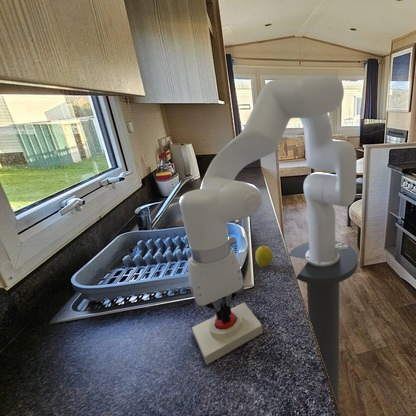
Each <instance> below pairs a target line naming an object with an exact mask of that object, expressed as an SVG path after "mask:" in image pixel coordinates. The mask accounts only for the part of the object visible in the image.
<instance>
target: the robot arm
mask: <svg viewBox="0 0 416 416" xmlns="http://www.w3.org/2000/svg"><path fill="white" fill-rule="evenodd" d="M344 93H345V91H344V86H343V83H342V80H341V79H340V78H339V77H338V76H337V75H335V74H322V75H310V76H309V75H308V76H307V75H306V76H298V77H288V78H276V79H272V80H269V81H268V82H266V83H265V84H264V85H263V87H262V88H261V91H260V92H259V95H258V96H257V98H256V100H255V103H254V105H253V107H252V110H251V111H250V114H249V116H248V118H247V120H246V122H245V125H244V127H243V129H242V130H241V132H240V133H239V134H238V135H237V136H235V137H234V138H233V139H231V141H230V142H228V143H227V144H226V145H225V146H224V147H223V148H222V149H221V150H220V151H219V152H218V153H217V154H216V155H215V156H214V158H213V159H212V160H211V162H210V164H209V166H208V168H207V170H206V171H205V172H206V173H205V174H204V176H203V178H202V180H201V183H200V187H199V188H198V189H193V190H190V191H187V192H184V193H183V194H182V195H181V196H180V198H179V209H180V212H181V217H182V221H183V226H184V230H185V234H186V239H187V243H188V248H189V252H190V256H189V258H188V259H187V275H188V283H189V287H190V292H191V295H192V297H193V306H194V309H195V310H196V311H199V310H202V309H205V308H206V309H207V308H208V309H210V310H214V313H215V315H216V317H217V319H218V321H219V320H221V321H222V323H223V324H225V323H226V321H227V322H229V321H230V315H231V309H232V307H231V305H232V304H233V302H232V301H233V300H234V299H235V297H236V296H237V295H238V294H239V293H241V292H242V291H243V290H245V286H244V277H243V274H242V270H241V266H240V263H239V260H238V257H237V253H236V252H235V249H234V248H233V246H232V245H234V244H235V243H237V238H236V237H235V236H232V237H231V236H229V231H228V223H229V222H234V221H240V220H243V219H247V218H249V217H251V216H253V215H255V214H256V213H257V212H258V211H259V210H260V208H261V207H262V203H263V195H262V193H261V191H260V189H258V187H257V186H255V185H254V184H251V183H249V182H246V181H245V182H244V181H239V180H235V179H236V177H237V176H238V174H239V173H240V172H241V171H242V170H243V169H244V168H245V167H247V166H248V165H249V164H251V163H254V162H256V161H258V160H260V159H263V158H265V157H268V156H269V155H271V154H273V153H275V152H276V151H277V150H278V148H279V146H280V144H281V141H282V139H283V136H284V133H285V132H286V129H287V126H288V125H289V122H290V120H291V119H299V120H300V121H301V124H302V129H303V137H304V152H305V153H304V154H305V160H306V164H307V166H308V167H309V168H311V169H313V170H317V171H323V172H313V173H309V174H308V175H307V176H306V178H304V181H303V187H302V188H303V195H304V198H305V202H306V208H307V209H306V210H307V229H308V231H307V232H308V242H309V250H308V251H307V252H306V254H305V259H304V260H307V262H308V263H309V264H311V265H314V266H319V267H325V266H330V265H333V264H335V263H336V262H337V261H338V260H339V258H340V254H339V253H340V251H346V250H348V246H349V245H348V246H347V244H346V245H344V246H342V244H341V243H342V242H340V244H335V241H336V211H335V208H334V206H338V207H349V206H350V205H352V204H353V203H354V201H355V199H356V195H357V151H356V148H355V146H354V145H353V143H352V142H350V141H348V140H343V139H341V140H340V139H334V138H333V127H332V120H331V118H330V115H329V113H332V112H335V111H336V110H337V109H339V108H340V106H341V105H342V103H343V100H344ZM326 172H329V173H326ZM333 173H335V174H333ZM220 299H221V300H220ZM219 300H220V301H219Z"/></svg>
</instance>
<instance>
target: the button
mask: <svg viewBox="0 0 416 416" xmlns="http://www.w3.org/2000/svg"><path fill="white" fill-rule="evenodd" d="M215 323H216V328H217V329H220V330H223V329H228V328H230V327H232V326H233V325H234V324H235V323H236V317H235V314H234V313H233V312H231V315H230V321H229V322H227V321H226V323H225V324H223V323H222V321H221V320H219V321H218V319H217V318H216V320H215Z"/></svg>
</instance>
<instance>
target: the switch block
mask: <svg viewBox="0 0 416 416" xmlns="http://www.w3.org/2000/svg"><path fill="white" fill-rule="evenodd" d="M231 312H233V313H234V314H235V317H236V323H235V324H234V325H233V326H232V327H230V328H228V329H223V330H220V329H217V328H216V323H215V320H216V318H217V317H216V314H214V316H213V317H211V318H209V319H207V320H204V321H202V322H200V323H198V324H196V325H194V326H192V327H191V330H192V334H193V337H194V338H195V339H194V340H195V342H196V344H197V346H198V348H199V351H200V352H201V355H202V357H203V360H204V362H205V365H210V364H211V363H213V362H215V361H216V360H218V359H220V358H221V357H223V356H225V355H226V354H229V353H230V352H232V351H233V350H235V349H237V348H239V347H240V346H243V345H244V344H246V343H248V342H249V341H251V340H253V339H254V338H256V337H258V336H260V335H262V334H263V331H264V330H263V324H261V322H260V320H258V318H257V317H256V315H255V314H254V313H253V312H252V310H251V309H250V308H249V306H248V305H247V304H246V302H242V303H240V304H238V305H236V306H234V307H231Z"/></svg>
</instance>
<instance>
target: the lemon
mask: <svg viewBox="0 0 416 416" xmlns="http://www.w3.org/2000/svg"><path fill="white" fill-rule="evenodd" d="M254 255H255V256H254V257H255V261H256V264H257V265H258V266H259V267H262V268H263V267H264V268H266V267H268V266H269V265H271V263H272V262H273V259H274V258H273V256H274V255H273V252H272V250H271V248H270V247H269V246H266V245H261V246H259V247H258V248H257V249H256V250H255V254H254Z"/></svg>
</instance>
